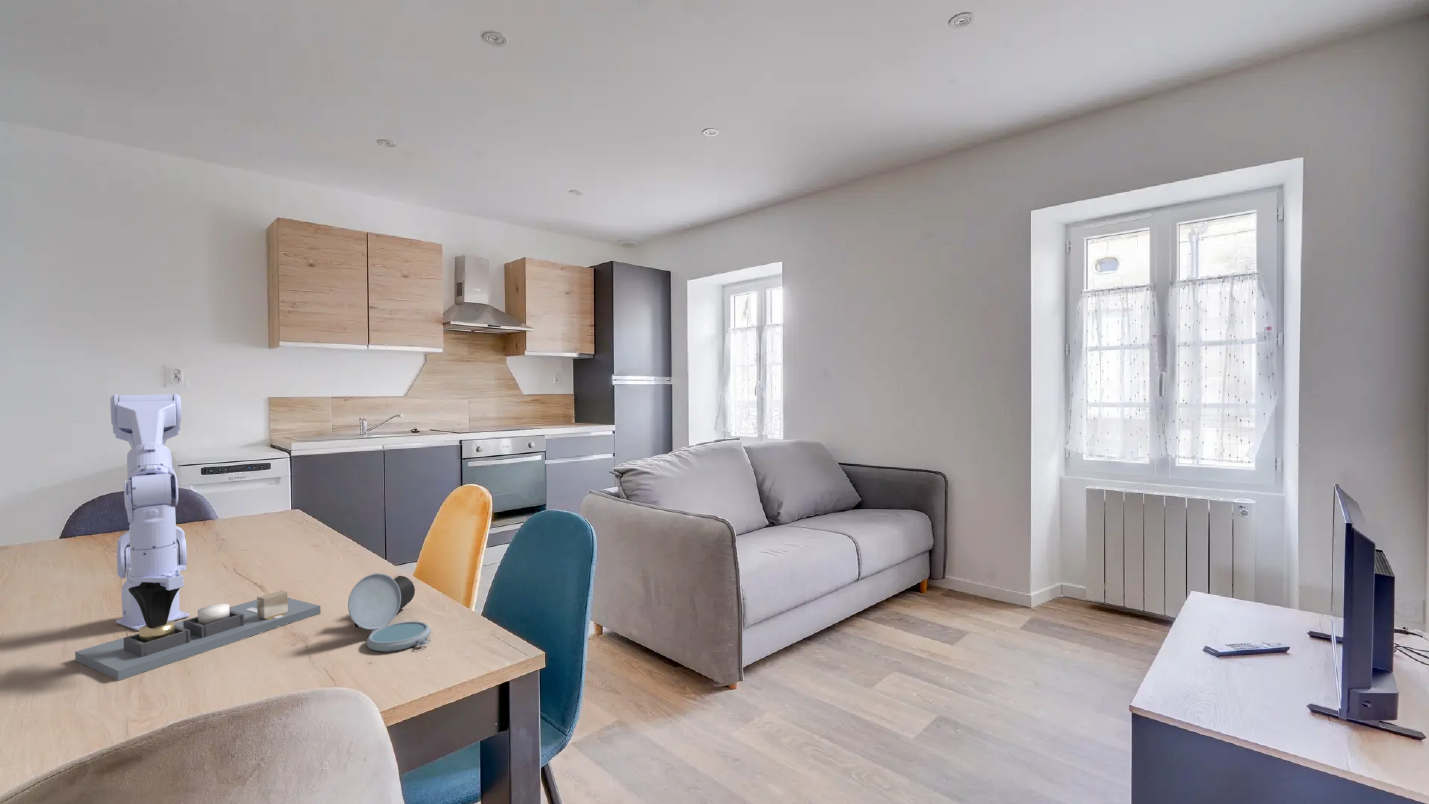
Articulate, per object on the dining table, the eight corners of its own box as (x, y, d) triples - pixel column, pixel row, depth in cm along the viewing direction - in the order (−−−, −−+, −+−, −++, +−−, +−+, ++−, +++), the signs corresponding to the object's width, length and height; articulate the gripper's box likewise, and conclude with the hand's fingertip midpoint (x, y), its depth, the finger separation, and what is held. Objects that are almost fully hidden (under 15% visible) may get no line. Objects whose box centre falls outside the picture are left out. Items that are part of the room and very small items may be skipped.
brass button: (134, 640, 100) (133, 628, 100) (167, 630, 104) (167, 618, 104) (146, 644, 98) (146, 632, 98) (180, 634, 102) (179, 622, 102)
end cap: (389, 628, 111) (388, 591, 111) (351, 628, 111) (350, 592, 111) (415, 608, 121) (414, 575, 121) (380, 608, 121) (379, 575, 121)
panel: (75, 660, 99) (74, 639, 99) (275, 601, 126) (274, 584, 126) (118, 680, 92) (117, 657, 92) (320, 613, 119) (319, 595, 119)
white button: (193, 621, 107) (192, 610, 107) (222, 613, 111) (221, 602, 111) (205, 625, 105) (205, 614, 105) (234, 616, 109) (234, 605, 109)
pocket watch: (395, 566, 113) (450, 576, 106) (397, 623, 113) (451, 637, 106) (341, 582, 104) (397, 594, 97) (343, 644, 104) (399, 661, 97)
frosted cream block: (257, 616, 113) (256, 596, 113) (280, 609, 116) (280, 590, 116) (264, 618, 112) (263, 598, 112) (287, 611, 115) (287, 591, 115)
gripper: (204, 544, 101) (207, 624, 101) (163, 536, 107) (166, 611, 108) (150, 555, 95) (154, 640, 95) (110, 545, 101) (113, 625, 101)
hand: (156, 625), depth 101 cm, fingers closed, pressing on brass button
